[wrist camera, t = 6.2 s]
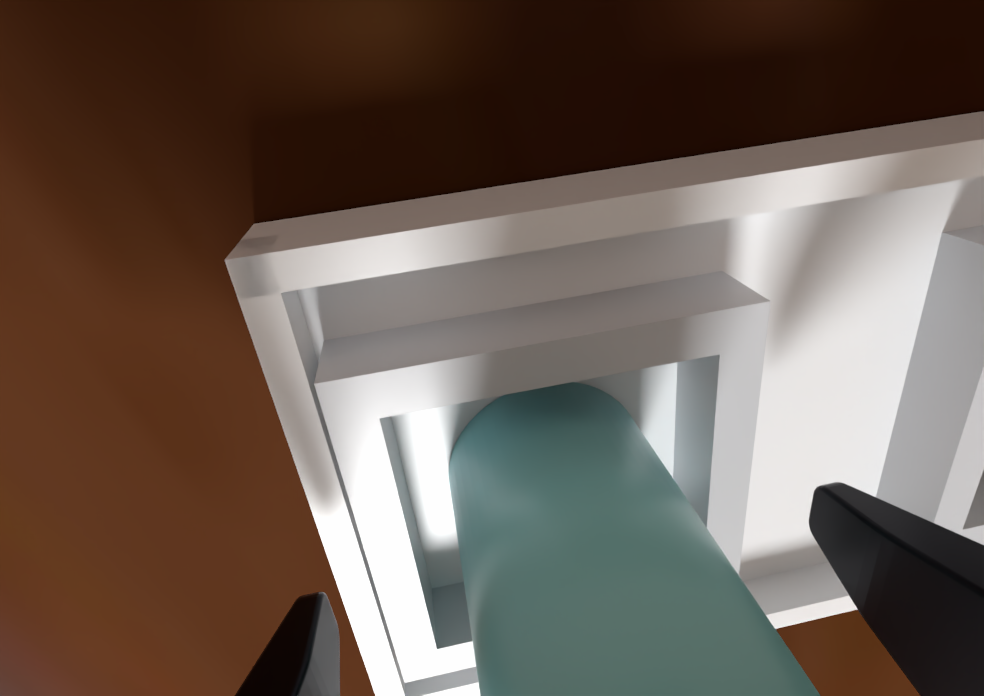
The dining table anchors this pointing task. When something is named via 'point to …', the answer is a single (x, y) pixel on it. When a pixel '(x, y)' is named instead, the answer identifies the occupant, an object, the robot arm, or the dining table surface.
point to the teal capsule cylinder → (597, 562)
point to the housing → (635, 356)
